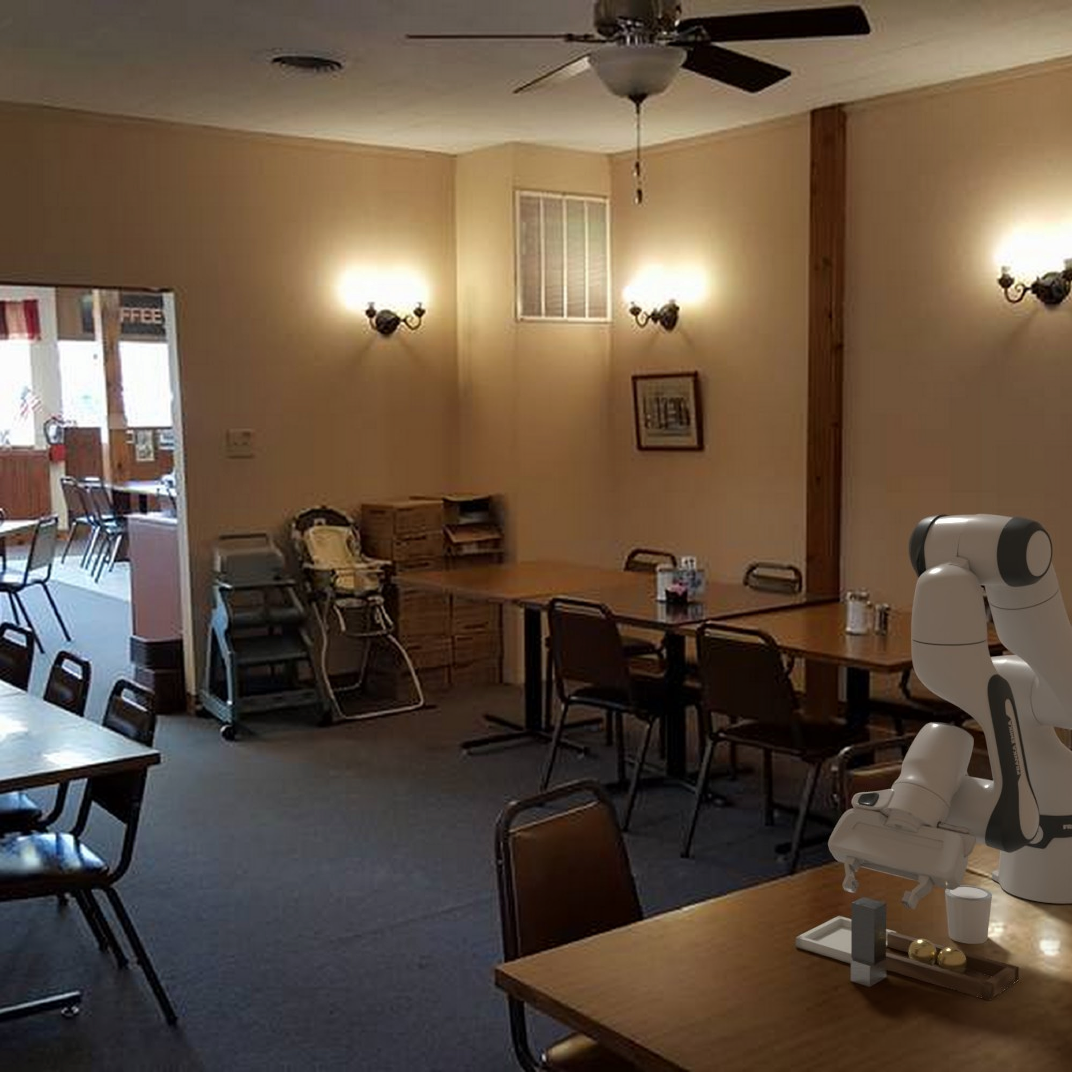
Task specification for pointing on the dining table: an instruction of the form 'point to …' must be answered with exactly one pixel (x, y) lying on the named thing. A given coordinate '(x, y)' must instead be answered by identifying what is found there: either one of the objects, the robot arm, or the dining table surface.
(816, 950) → the tray
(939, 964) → the brass sphere
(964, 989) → the slot rail
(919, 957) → the shiny gold ball
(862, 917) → the long gray brick
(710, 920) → the dining table surface
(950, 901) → the white cup
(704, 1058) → the dining table surface
